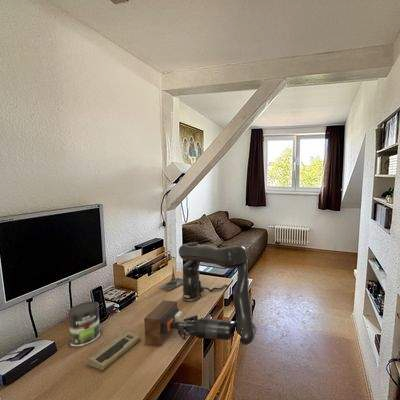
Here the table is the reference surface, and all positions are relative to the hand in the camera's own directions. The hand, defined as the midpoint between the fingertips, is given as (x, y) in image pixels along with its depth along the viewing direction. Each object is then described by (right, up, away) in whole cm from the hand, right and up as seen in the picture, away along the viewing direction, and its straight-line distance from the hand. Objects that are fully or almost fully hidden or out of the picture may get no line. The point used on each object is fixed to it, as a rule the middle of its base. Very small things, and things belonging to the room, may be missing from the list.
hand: (171, 324), depth 96 cm
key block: (-6, -7, +4) cm, 10 cm away
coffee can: (-38, -6, +1) cm, 39 cm away
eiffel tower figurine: (-20, -2, +50) cm, 55 cm away
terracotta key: (-1, -2, 0) cm, 2 cm away
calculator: (-46, -4, +24) cm, 52 cm away
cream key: (+1, -1, +5) cm, 6 cm away
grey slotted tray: (-20, -8, -7) cm, 22 cm away
